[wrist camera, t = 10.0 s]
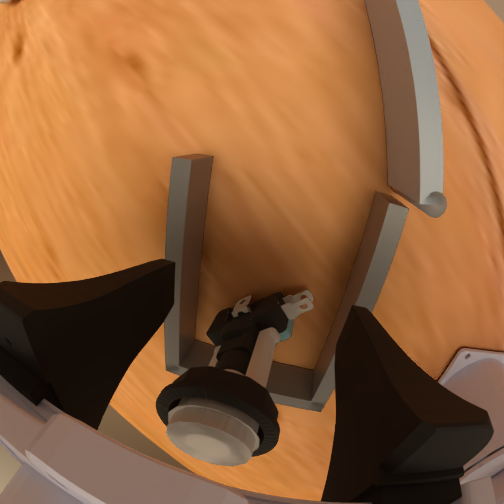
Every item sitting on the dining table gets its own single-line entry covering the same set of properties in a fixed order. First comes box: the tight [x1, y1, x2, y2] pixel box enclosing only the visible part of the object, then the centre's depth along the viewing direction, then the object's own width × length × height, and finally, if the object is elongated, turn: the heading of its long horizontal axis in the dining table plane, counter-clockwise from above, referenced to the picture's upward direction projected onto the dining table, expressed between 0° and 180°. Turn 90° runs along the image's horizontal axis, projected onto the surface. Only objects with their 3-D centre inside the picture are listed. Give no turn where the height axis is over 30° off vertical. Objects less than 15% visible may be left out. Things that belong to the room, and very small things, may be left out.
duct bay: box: [164, 154, 409, 412], centre depth 16 cm, size 11×14×3 cm
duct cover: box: [364, 0, 447, 218], centre depth 9 cm, size 12×1×5 cm, turn 6°
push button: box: [156, 289, 314, 466], centre depth 14 cm, size 7×5×10 cm
